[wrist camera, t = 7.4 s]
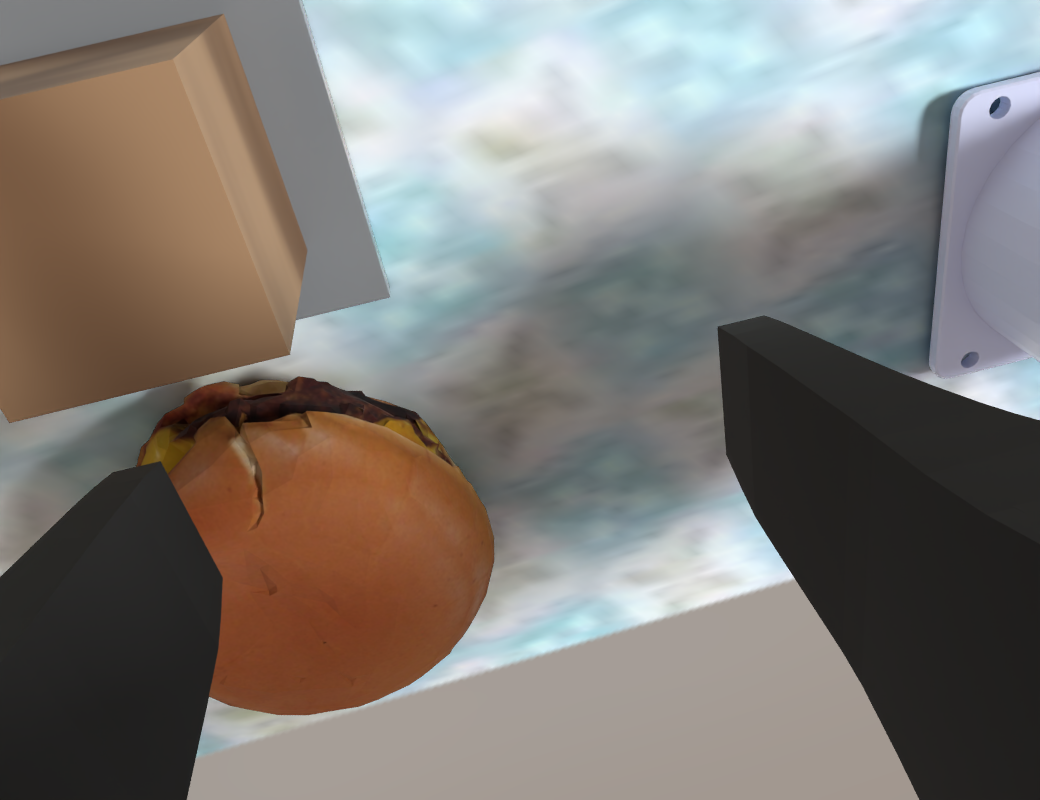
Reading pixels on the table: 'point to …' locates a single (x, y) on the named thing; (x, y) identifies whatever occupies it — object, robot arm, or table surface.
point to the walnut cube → (138, 221)
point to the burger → (325, 540)
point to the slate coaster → (281, 105)
